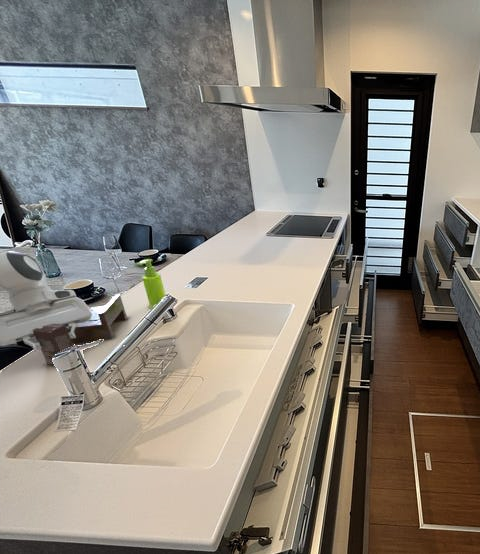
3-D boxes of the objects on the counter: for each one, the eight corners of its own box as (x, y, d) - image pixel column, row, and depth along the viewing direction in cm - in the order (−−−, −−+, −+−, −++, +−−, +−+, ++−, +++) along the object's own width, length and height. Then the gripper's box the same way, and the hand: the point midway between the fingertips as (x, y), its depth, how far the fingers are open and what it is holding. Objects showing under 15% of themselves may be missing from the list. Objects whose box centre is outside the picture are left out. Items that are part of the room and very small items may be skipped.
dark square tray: (67, 344, 99) (56, 318, 95) (88, 322, 111) (79, 298, 107) (112, 338, 103) (103, 313, 99) (127, 318, 115) (120, 294, 111)
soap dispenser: (144, 308, 122) (131, 262, 114) (159, 300, 128) (147, 256, 120) (156, 310, 121) (144, 264, 113) (170, 303, 127) (160, 258, 119)
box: (79, 357, 94) (65, 324, 89) (64, 367, 90) (49, 332, 85) (62, 355, 94) (47, 322, 90) (46, 364, 90) (30, 330, 85)
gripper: (-21, 313, 80) (1, 358, 79) (79, 288, 96) (99, 325, 95) (-16, 321, 85) (5, 364, 83) (80, 296, 100) (99, 332, 99)
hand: (56, 343), depth 89 cm, fingers closed on box, 6 cm apart
